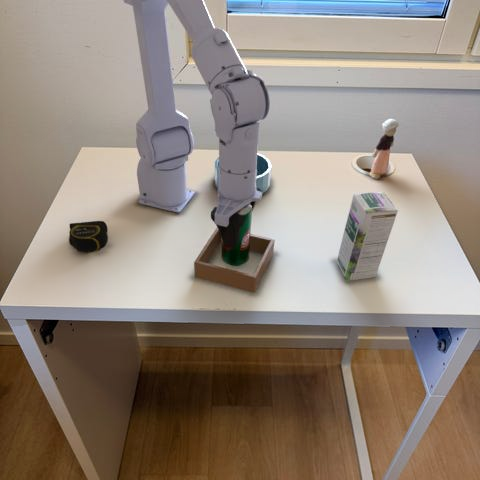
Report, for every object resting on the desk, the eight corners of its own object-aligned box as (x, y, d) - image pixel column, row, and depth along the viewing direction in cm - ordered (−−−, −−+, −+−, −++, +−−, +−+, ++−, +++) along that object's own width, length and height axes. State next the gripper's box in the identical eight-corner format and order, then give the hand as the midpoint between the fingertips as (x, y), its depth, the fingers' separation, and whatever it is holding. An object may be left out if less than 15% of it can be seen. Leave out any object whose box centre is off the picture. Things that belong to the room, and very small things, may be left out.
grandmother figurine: (380, 182, 106) (395, 128, 97) (364, 177, 107) (377, 123, 98) (391, 168, 110) (407, 115, 101) (376, 163, 112) (390, 110, 102)
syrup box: (335, 261, 87) (351, 193, 76) (364, 257, 88) (384, 189, 77) (346, 282, 83) (365, 213, 72) (377, 277, 84) (399, 209, 73)
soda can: (246, 269, 82) (249, 212, 73) (218, 265, 83) (217, 208, 74) (251, 252, 86) (255, 195, 77) (224, 247, 86) (225, 190, 77)
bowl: (206, 191, 102) (206, 172, 98) (226, 164, 109) (226, 146, 106) (260, 203, 99) (261, 184, 96) (276, 175, 107) (277, 156, 104)
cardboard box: (194, 277, 83) (193, 262, 80) (217, 240, 90) (217, 225, 87) (254, 293, 80) (255, 278, 78) (273, 254, 88) (274, 239, 85)
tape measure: (109, 232, 91) (105, 216, 88) (109, 255, 86) (105, 238, 83) (72, 235, 90) (68, 219, 87) (70, 258, 85) (65, 242, 82)
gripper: (247, 194, 65) (243, 268, 75) (276, 147, 74) (270, 218, 84) (200, 184, 66) (203, 258, 76) (235, 139, 76) (233, 210, 86)
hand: (235, 237), depth 80 cm, fingers closed on soda can, 5 cm apart
